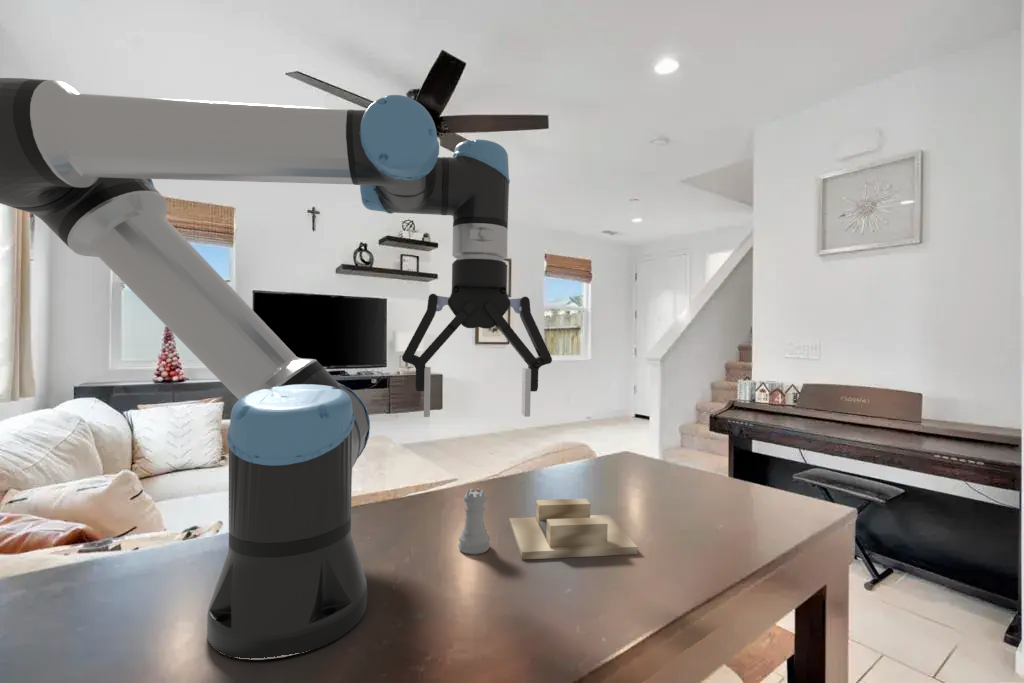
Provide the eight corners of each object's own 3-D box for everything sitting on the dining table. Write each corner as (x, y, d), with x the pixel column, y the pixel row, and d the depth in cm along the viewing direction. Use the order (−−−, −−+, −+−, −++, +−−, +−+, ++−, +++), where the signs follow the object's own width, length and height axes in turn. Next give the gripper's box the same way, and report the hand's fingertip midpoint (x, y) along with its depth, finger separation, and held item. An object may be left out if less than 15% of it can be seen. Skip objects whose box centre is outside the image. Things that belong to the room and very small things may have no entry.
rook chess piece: (496, 546, 69) (497, 490, 69) (477, 559, 66) (478, 498, 65) (471, 539, 72) (471, 484, 72) (451, 550, 68) (452, 492, 68)
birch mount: (521, 559, 65) (522, 529, 65) (509, 524, 77) (509, 499, 77) (637, 554, 68) (637, 524, 68) (607, 520, 80) (608, 496, 80)
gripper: (383, 252, 62) (380, 420, 63) (575, 260, 66) (572, 419, 66) (389, 260, 70) (386, 411, 70) (562, 267, 73) (559, 410, 74)
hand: (476, 415), depth 68 cm, fingers open, 13 cm apart
